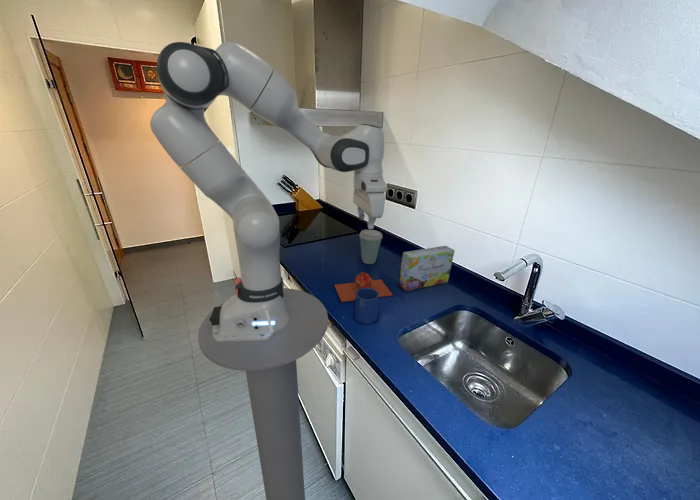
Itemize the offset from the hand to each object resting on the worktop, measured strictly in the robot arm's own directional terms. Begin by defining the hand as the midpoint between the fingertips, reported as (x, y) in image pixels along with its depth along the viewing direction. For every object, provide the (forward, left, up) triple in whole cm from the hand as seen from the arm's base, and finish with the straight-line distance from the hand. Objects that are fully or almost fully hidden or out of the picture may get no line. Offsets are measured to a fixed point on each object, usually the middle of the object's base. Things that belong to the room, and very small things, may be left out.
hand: (365, 223), depth 94 cm
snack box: (+28, +4, -29) cm, 41 cm away
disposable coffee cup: (+13, +29, -29) cm, 43 cm away
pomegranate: (+2, +5, -29) cm, 29 cm away
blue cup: (-2, -11, -29) cm, 31 cm away
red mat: (+2, +5, -29) cm, 30 cm away
